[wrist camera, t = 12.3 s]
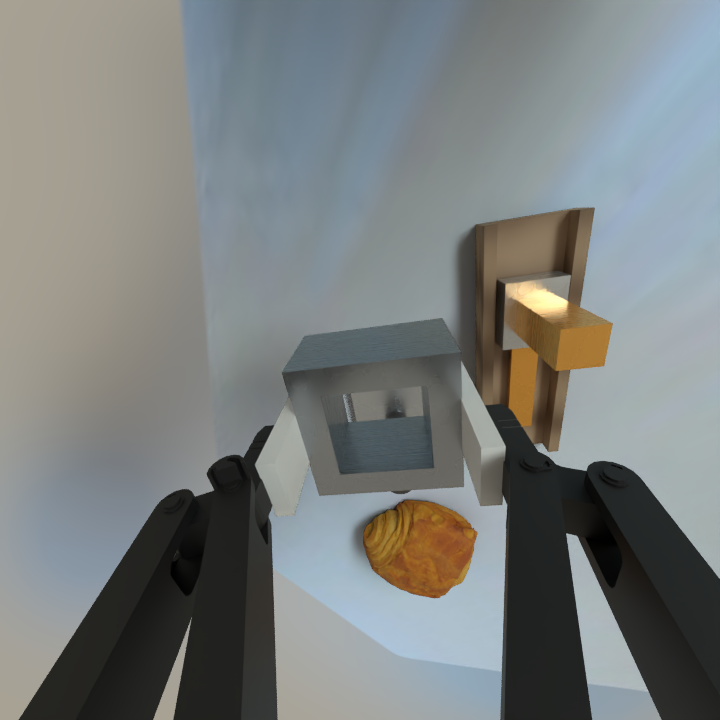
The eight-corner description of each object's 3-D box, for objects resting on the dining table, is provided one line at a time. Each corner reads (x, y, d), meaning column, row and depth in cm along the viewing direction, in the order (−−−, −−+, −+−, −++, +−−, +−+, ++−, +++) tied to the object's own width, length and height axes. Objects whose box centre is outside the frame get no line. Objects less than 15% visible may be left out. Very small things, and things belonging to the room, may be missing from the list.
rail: (476, 224, 26) (484, 225, 24) (576, 207, 25) (594, 207, 23) (475, 442, 36) (481, 456, 34) (547, 436, 35) (558, 451, 33)
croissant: (424, 558, 51) (436, 618, 44) (346, 530, 45) (346, 594, 39) (491, 516, 45) (516, 578, 38) (410, 478, 39) (424, 542, 33)
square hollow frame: (304, 336, 16) (281, 372, 12) (442, 318, 15) (461, 351, 11) (331, 441, 19) (319, 495, 15) (447, 431, 18) (463, 486, 14)
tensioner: (497, 279, 27) (546, 309, 19) (558, 270, 26) (635, 297, 18) (493, 424, 34) (527, 492, 26) (541, 420, 33) (592, 488, 25)
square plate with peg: (350, 385, 34) (339, 448, 25) (432, 376, 33) (451, 439, 24) (363, 447, 38) (357, 521, 29) (437, 441, 37) (454, 516, 28)
